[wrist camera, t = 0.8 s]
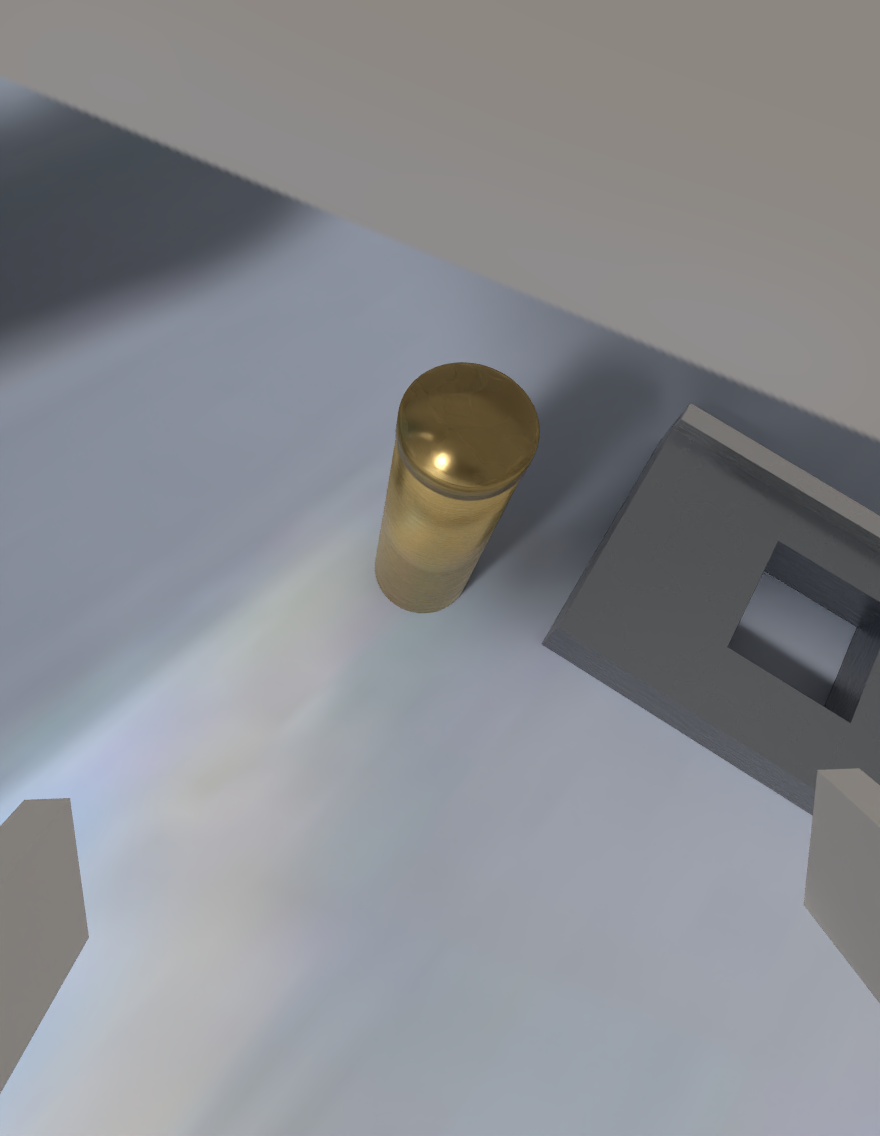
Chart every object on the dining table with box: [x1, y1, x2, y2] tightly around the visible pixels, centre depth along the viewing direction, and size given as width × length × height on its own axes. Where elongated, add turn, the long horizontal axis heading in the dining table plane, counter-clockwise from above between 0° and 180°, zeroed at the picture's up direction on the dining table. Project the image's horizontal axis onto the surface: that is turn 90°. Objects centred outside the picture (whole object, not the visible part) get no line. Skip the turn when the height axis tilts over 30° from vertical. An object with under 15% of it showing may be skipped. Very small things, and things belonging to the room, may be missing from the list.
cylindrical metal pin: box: [375, 362, 540, 613], centre depth 28 cm, size 4×4×12 cm
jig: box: [542, 403, 880, 815], centre depth 33 cm, size 18×12×3 cm, turn 58°
